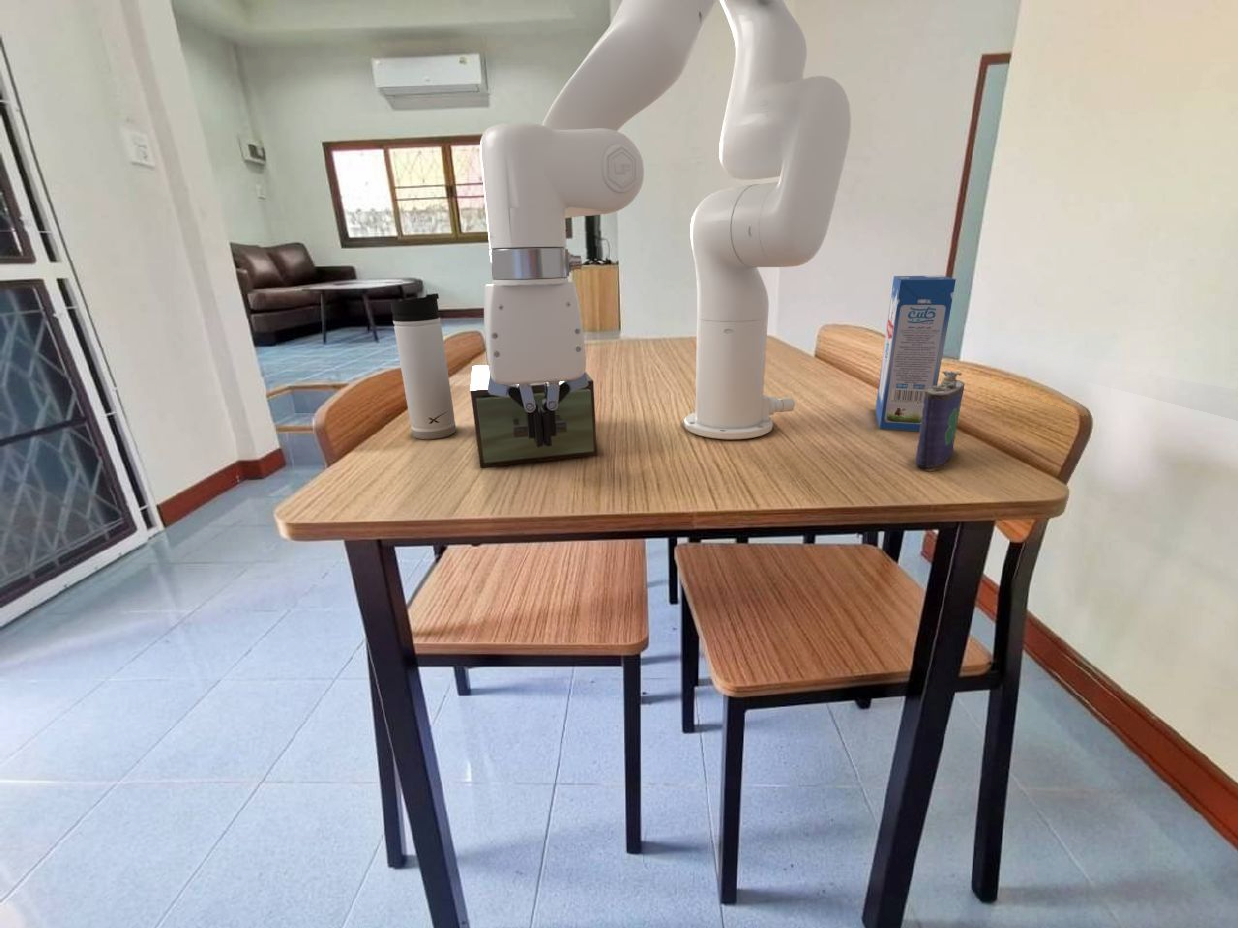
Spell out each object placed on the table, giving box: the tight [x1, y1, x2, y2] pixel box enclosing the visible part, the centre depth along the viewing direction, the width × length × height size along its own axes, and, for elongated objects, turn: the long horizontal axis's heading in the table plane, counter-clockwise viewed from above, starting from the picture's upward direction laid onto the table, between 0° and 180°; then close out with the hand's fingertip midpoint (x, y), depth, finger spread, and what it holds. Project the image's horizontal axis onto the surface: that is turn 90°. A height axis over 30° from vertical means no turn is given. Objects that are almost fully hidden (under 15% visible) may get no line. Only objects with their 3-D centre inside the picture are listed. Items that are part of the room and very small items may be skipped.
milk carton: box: [875, 274, 957, 432], centre depth 79 cm, size 10×6×20 cm, turn 160°
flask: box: [913, 370, 965, 472], centre depth 65 cm, size 9×3×11 cm, turn 138°
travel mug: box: [390, 292, 457, 440], centre depth 80 cm, size 6×7×20 cm
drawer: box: [476, 389, 594, 463], centre depth 73 cm, size 20×14×8 cm
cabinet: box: [469, 364, 598, 468], centre depth 76 cm, size 16×15×10 cm
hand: (542, 442), depth 62 cm, fingers closed
